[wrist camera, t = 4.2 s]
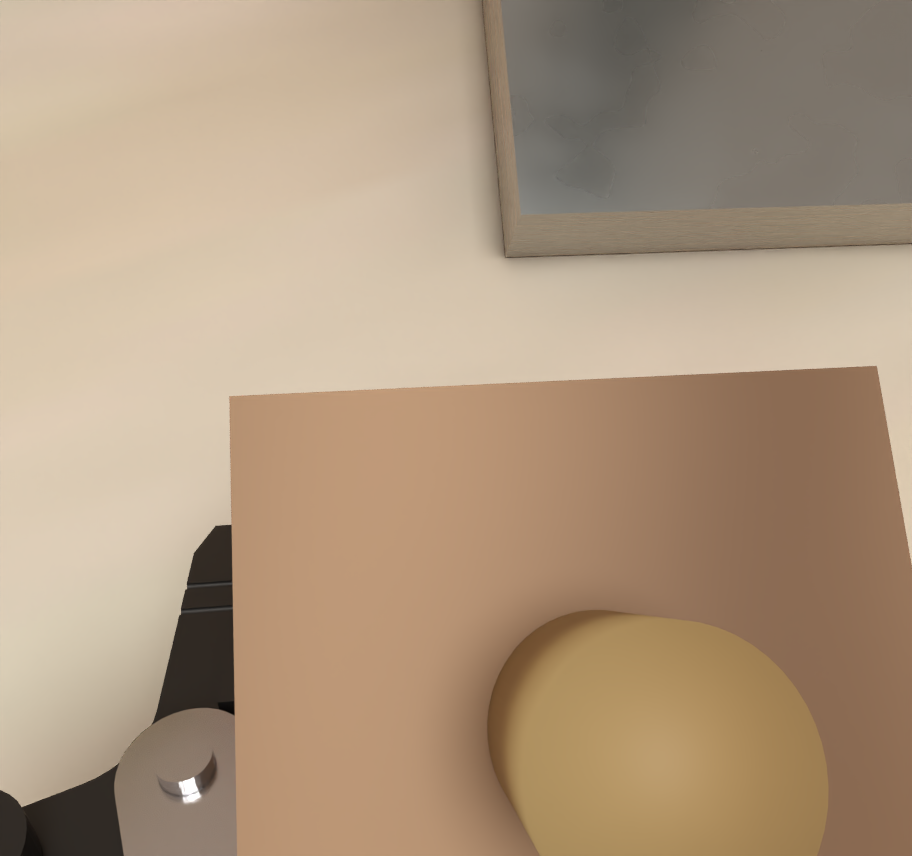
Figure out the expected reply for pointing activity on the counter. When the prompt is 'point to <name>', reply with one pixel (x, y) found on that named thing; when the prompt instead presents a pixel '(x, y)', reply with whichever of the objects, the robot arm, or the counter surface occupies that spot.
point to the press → (700, 124)
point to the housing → (572, 619)
